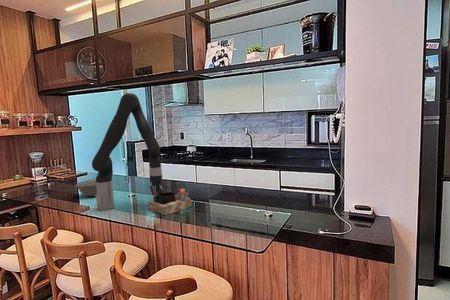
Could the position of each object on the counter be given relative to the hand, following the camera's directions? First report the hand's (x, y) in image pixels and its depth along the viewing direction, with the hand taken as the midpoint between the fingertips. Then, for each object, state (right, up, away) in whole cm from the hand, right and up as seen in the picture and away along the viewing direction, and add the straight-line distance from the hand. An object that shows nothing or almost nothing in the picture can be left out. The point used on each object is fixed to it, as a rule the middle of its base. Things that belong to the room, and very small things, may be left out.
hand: (157, 201), depth 183 cm
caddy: (+9, -3, -8) cm, 12 cm away
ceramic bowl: (-55, -2, +33) cm, 65 cm away
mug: (+9, -3, -7) cm, 12 cm away
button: (+17, +5, -9) cm, 20 cm away
